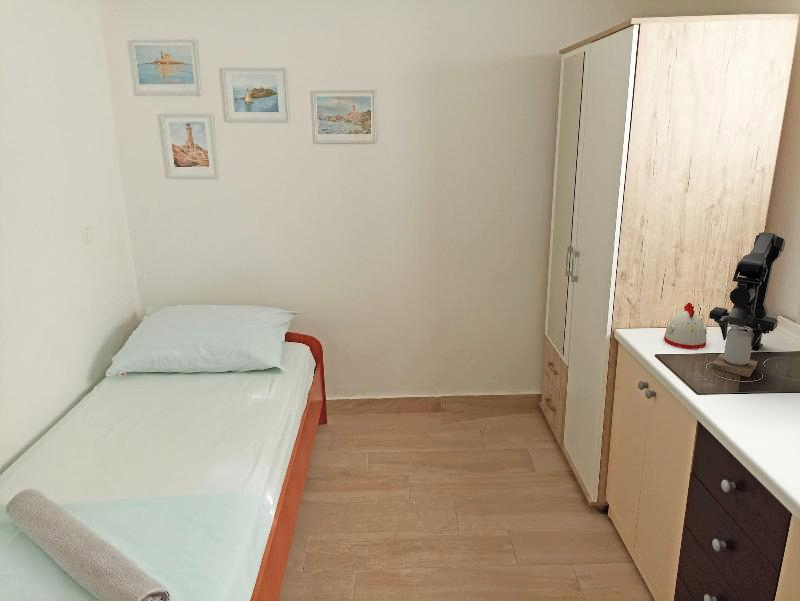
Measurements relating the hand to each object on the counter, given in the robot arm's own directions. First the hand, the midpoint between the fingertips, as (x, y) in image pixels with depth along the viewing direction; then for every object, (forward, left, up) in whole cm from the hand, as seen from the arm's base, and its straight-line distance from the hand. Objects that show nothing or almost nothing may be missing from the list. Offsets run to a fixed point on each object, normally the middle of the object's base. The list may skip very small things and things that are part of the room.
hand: (738, 343), depth 196 cm
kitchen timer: (-12, -20, -9) cm, 25 cm away
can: (0, 0, -7) cm, 7 cm away
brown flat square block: (0, 0, -9) cm, 9 cm away
